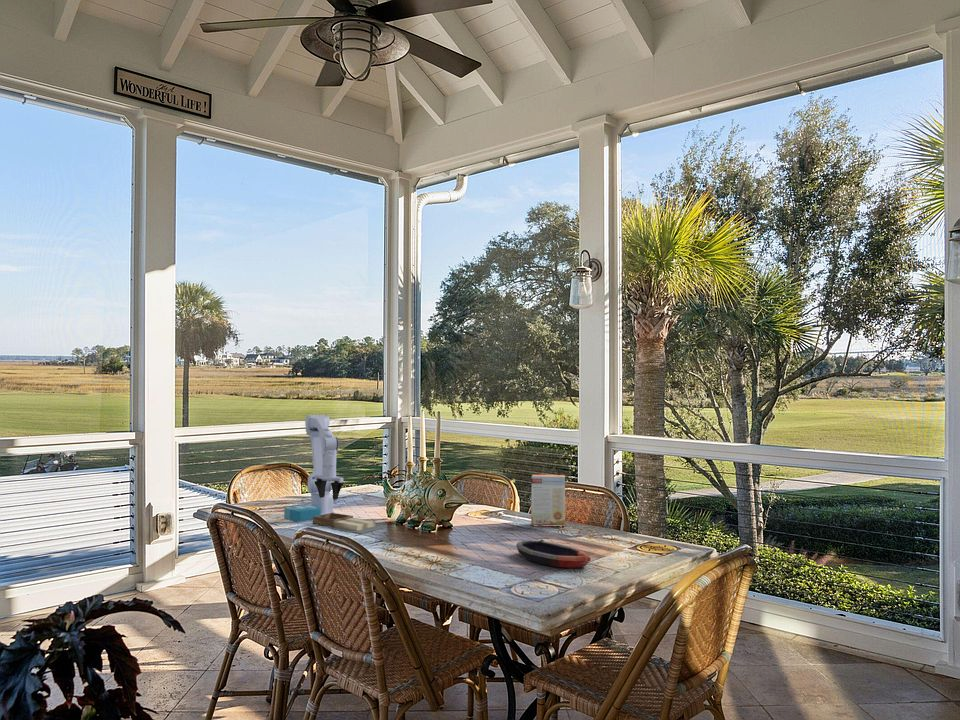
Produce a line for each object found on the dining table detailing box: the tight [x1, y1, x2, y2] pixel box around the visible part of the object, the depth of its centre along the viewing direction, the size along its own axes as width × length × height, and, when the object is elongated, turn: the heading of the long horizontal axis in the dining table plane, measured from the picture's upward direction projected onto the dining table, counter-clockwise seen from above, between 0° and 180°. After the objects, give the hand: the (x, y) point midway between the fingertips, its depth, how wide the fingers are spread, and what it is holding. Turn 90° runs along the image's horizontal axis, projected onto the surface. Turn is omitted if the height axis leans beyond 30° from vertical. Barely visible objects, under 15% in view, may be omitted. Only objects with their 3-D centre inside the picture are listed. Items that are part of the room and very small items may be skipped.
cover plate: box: [335, 517, 377, 531], centre depth 297 cm, size 11×12×2 cm
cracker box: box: [530, 474, 566, 526], centre depth 307 cm, size 14×6×21 cm, turn 84°
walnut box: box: [312, 512, 354, 528], centre depth 304 cm, size 11×12×3 cm
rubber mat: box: [330, 523, 389, 535], centre depth 296 cm, size 16×16×1 cm
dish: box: [515, 539, 592, 569], centre depth 248 cm, size 16×31×5 cm, turn 40°
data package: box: [283, 504, 321, 523], centre depth 314 cm, size 12×4×12 cm
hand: (328, 498), depth 309 cm, fingers open, 7 cm apart
